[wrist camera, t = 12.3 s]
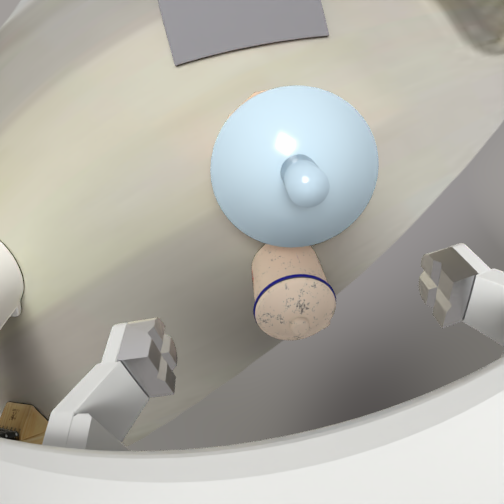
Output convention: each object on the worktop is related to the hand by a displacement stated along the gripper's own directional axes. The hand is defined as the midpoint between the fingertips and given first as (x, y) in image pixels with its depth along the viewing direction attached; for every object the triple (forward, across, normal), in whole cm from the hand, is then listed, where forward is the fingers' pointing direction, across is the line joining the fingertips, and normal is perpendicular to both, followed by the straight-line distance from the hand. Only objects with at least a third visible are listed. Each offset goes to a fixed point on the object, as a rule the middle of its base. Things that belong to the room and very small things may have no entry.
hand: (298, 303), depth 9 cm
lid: (+20, +4, -3) cm, 21 cm away
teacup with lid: (+27, +2, -19) cm, 33 cm away
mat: (+27, +3, +17) cm, 32 cm away
